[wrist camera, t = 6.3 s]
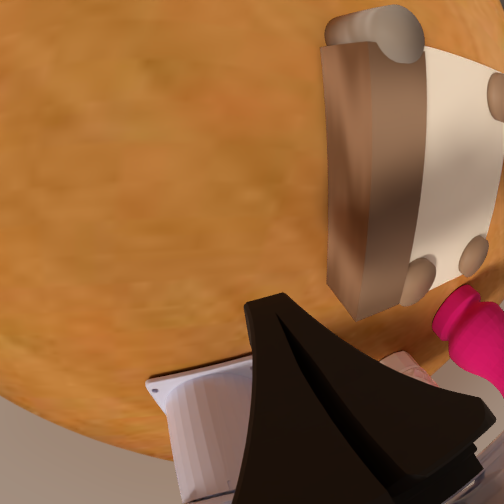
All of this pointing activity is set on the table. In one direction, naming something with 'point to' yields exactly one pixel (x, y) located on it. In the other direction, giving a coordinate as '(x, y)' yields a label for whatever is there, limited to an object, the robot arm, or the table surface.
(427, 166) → the stool seat
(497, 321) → the pepper mill
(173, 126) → the table surface
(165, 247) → the table surface
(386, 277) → the folding leg
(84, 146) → the table surface
